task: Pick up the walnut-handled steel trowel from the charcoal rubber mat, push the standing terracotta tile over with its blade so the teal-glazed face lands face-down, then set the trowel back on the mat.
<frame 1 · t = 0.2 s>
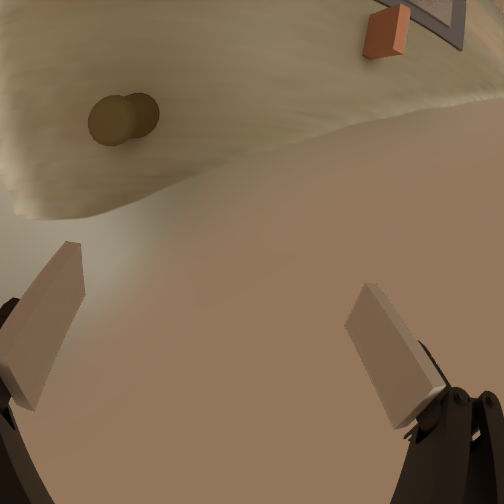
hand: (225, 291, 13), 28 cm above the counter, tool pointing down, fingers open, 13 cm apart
cork: (137, 115, 33), on the counter
tile: (371, 36, 30), on the counter
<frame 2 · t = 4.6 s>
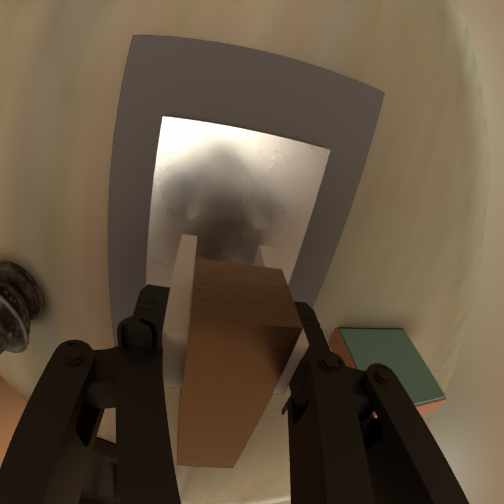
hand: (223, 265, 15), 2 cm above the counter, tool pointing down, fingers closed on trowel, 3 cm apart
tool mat: (220, 250, 17), on the counter
trowel: (215, 284, 17), point 1 cm above the counter, touching gripper, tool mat
tile: (368, 336, 22), on the counter
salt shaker: (17, 290, 17), on the counter
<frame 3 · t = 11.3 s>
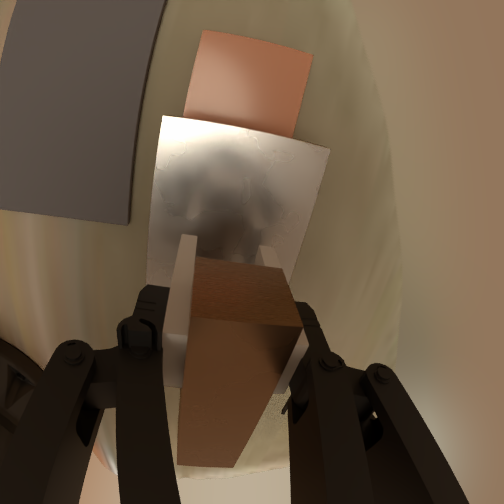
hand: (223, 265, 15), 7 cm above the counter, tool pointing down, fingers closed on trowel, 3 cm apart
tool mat: (64, 70, 14), on the counter
trowel: (215, 284, 17), point 6 cm above the counter, touching gripper
tile: (230, 156, 19), on the counter, tilted 90°
when the fingers open (4 cm above the counter, at t = 16.7 s): trowel drops 2 cm, resting on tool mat.
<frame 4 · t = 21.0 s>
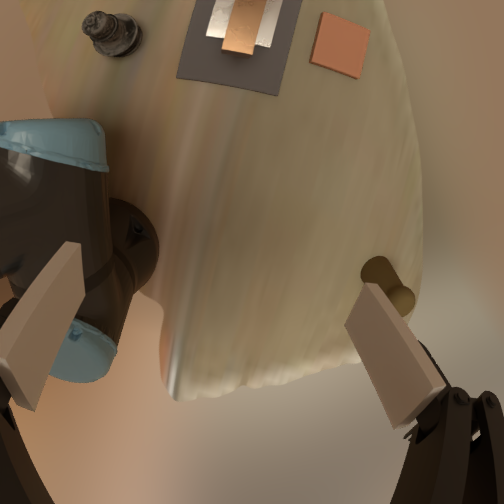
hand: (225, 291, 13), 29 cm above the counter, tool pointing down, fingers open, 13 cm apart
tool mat: (246, 11, 28), on the counter
trowel: (243, 22, 28), point 1 cm above the counter, touching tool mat
cork: (375, 270, 50), on the counter
tile: (334, 70, 33), on the counter, tilted 90°
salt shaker: (123, 39, 28), on the counter
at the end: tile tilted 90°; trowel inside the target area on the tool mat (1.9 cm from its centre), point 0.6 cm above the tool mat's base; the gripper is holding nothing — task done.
